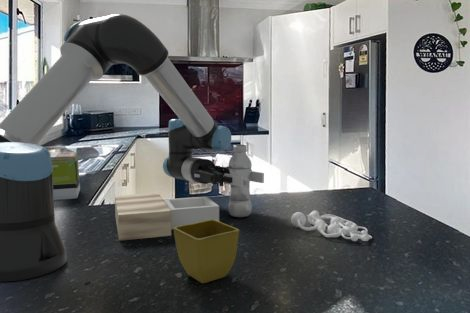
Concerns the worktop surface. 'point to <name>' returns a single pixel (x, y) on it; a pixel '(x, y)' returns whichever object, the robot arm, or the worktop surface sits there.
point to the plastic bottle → (241, 195)
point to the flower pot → (206, 249)
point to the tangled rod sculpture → (330, 226)
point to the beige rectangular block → (142, 216)
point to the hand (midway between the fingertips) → (252, 179)
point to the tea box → (65, 175)
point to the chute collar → (192, 210)
